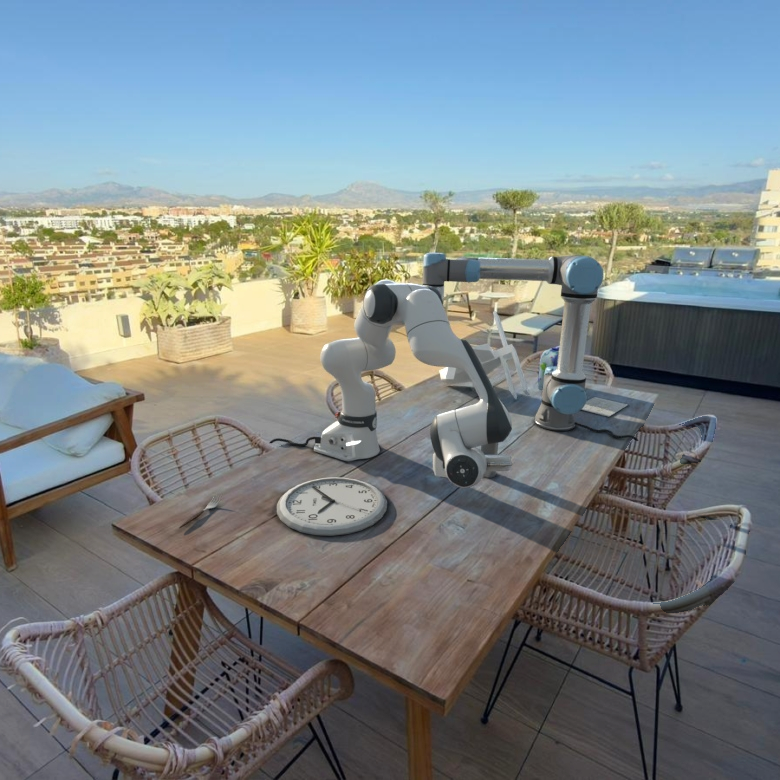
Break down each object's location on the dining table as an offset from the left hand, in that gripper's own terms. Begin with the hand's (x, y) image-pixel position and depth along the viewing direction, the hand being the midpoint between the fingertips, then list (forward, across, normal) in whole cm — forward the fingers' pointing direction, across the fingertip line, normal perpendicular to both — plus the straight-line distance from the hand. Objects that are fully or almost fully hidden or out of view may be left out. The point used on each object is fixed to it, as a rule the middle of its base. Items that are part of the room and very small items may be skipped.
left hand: (473, 459), depth 142 cm
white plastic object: (+102, +5, -23) cm, 104 cm away
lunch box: (+117, -31, -24) cm, 123 cm away
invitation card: (+97, -47, -16) cm, 109 cm away
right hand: (+43, +18, -33) cm, 57 cm away
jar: (+22, -2, +6) cm, 23 cm away
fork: (-22, +69, +14) cm, 74 cm away
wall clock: (-8, +38, +12) cm, 40 cm away
